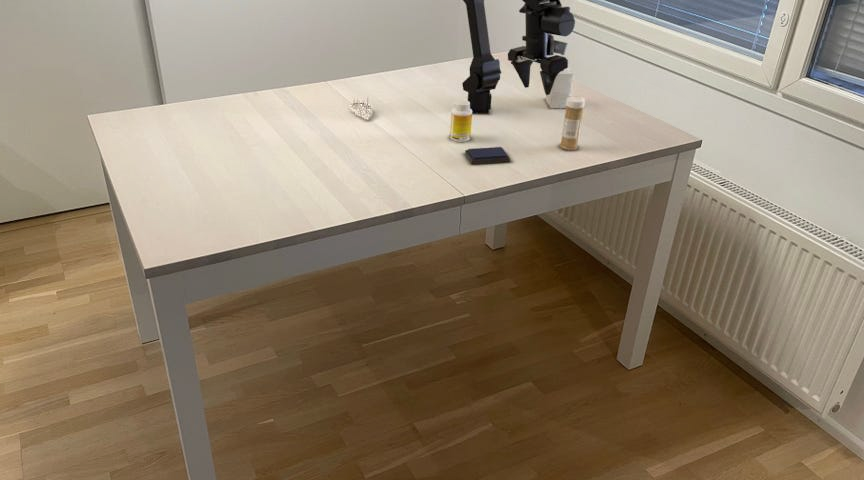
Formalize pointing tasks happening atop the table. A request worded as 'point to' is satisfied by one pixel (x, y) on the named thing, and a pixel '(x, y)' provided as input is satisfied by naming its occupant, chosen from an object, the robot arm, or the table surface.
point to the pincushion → (361, 109)
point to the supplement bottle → (461, 121)
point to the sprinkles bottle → (572, 122)
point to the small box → (560, 89)
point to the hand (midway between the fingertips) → (537, 90)
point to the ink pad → (487, 155)
